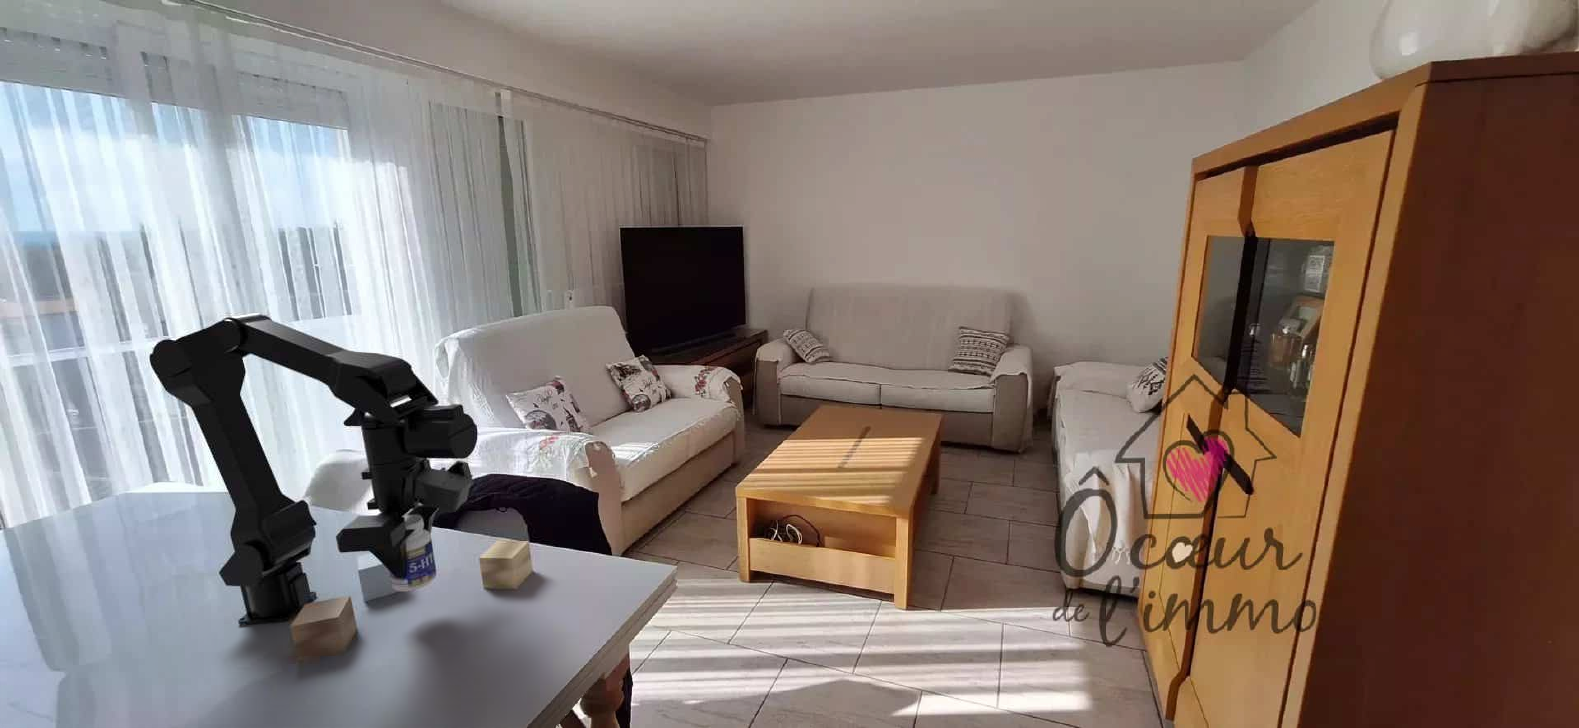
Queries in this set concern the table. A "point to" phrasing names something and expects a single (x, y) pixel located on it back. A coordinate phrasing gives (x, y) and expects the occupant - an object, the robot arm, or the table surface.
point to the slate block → (373, 577)
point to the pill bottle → (417, 557)
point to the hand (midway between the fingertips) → (412, 566)
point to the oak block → (506, 564)
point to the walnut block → (324, 628)
